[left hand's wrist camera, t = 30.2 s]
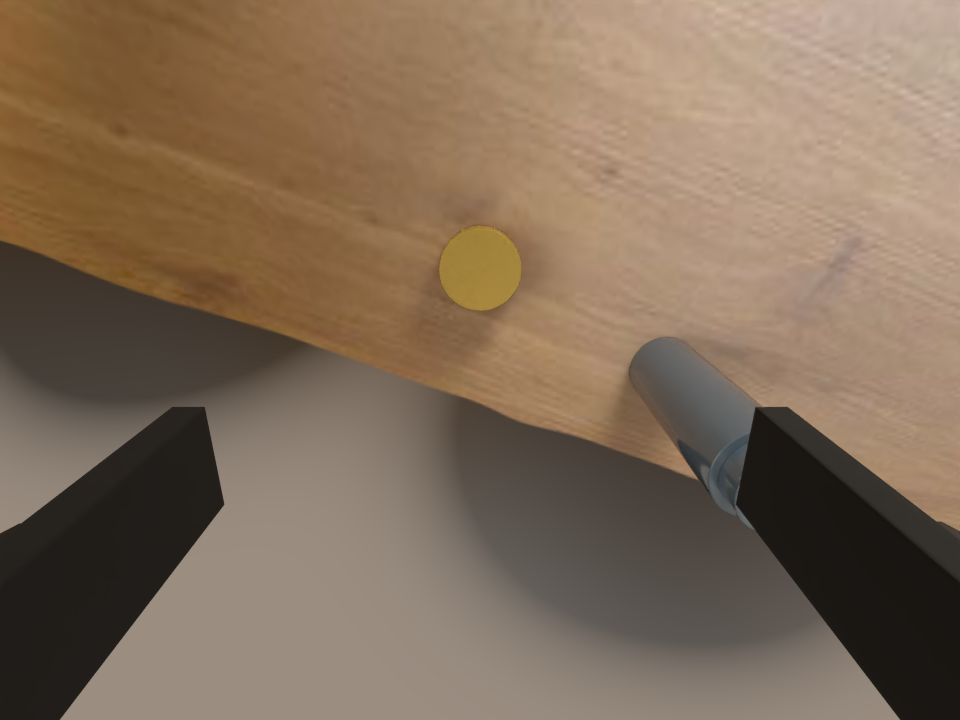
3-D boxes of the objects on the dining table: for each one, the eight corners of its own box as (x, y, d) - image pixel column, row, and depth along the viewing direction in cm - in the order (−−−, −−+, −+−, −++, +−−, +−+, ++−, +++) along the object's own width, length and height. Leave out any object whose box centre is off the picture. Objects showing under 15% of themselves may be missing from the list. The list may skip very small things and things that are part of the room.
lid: (436, 298, 40) (434, 305, 38) (445, 219, 38) (443, 222, 36) (512, 308, 40) (514, 316, 38) (525, 231, 38) (528, 234, 36)
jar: (711, 357, 42) (861, 478, 25) (670, 411, 43) (785, 558, 27) (656, 324, 41) (774, 428, 24) (615, 381, 43) (701, 513, 26)
